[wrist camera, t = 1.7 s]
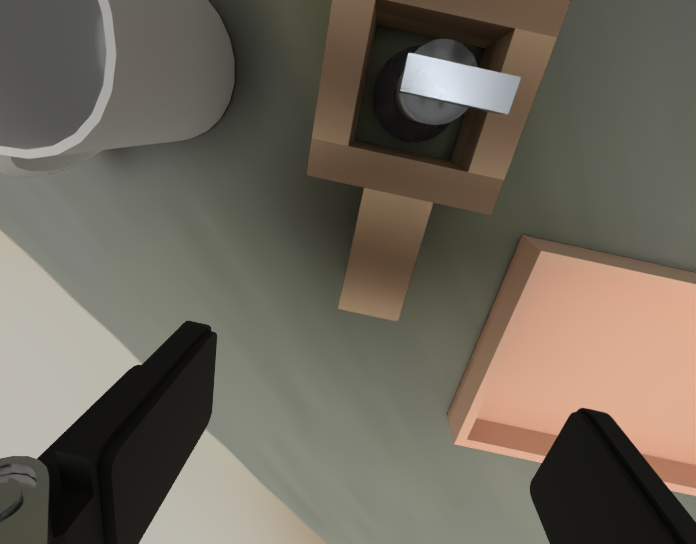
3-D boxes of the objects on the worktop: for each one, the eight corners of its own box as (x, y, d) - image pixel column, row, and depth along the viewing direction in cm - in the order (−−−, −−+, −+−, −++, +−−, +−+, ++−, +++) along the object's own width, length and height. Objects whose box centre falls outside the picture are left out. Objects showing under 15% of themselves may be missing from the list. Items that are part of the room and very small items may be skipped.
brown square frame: (350, -24, 16) (341, -67, 12) (530, 16, 16) (576, -15, 12) (304, 266, 21) (287, 298, 18) (435, 295, 21) (447, 332, 18)
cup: (269, 61, 17) (168, 10, 9) (158, 205, 20) (11, 263, 12) (143, -74, 16) (-122, -286, 7) (45, 106, 19) (-212, 98, 11)
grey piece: (384, 39, 16) (389, -29, 9) (470, 58, 16) (550, 6, 9) (365, 131, 18) (355, 142, 10) (443, 148, 18) (491, 172, 10)
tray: (522, 234, 19) (541, 250, 17) (866, 309, 20) (931, 335, 17) (447, 413, 25) (454, 444, 22) (717, 471, 25) (752, 507, 23)
